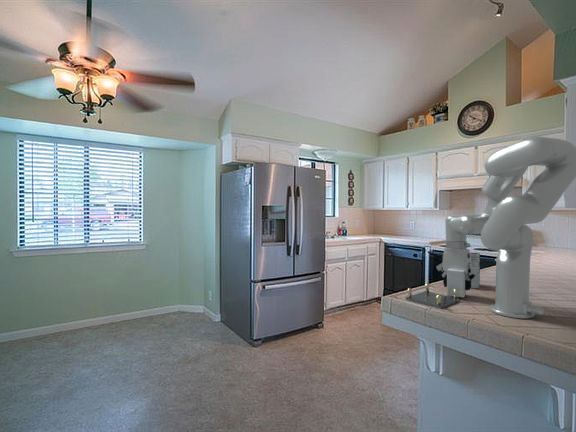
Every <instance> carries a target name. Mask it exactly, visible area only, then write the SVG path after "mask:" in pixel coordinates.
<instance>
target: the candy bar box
mask: <svg viewBox="0 0 576 432" xmlns="http://www.w3.org/2000/svg"><path fill="white" fill-rule="evenodd" d="M469 252H470V256H471V263H472V266H473V267H475V268H476V269H477V270H479V273H478V274H477V275H476V276H475V277H474V278H473V279H472V280H471V288H470V290H471V289H472V290H473V289H480V282H481V281H480V280H481V279H480V276H481V274H480V273H481V272H480V271H481V264H480V263H481V254H480V252H479V251H478V252H477V251H473V250H470V249H469ZM472 273H473V271H472V272H471V273H470V275H471V274H472Z"/></svg>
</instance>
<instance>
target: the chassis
mask: <svg viewBox="0 0 576 432" xmlns="http://www.w3.org/2000/svg"><path fill="white" fill-rule="evenodd" d="M412 289H413V288H411V287H408V288H407V296H406V297H405V300H406V301H409V302H413V303H416V302H417V304H421V305H424V306H429V307H433V308H437V309H440V310H442V309H445V308H447V307H449V306H452V305H455V304H457V303H459V302H461V299H460V297H458V289H454V296H447V295H445V294H439V293H435V292H431V291H430V283H427V282H425V291H422V292H417V293H415V294H412V292H413V291H412Z"/></svg>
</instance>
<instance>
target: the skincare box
mask: <svg viewBox="0 0 576 432" xmlns="http://www.w3.org/2000/svg"><path fill="white" fill-rule="evenodd" d="M465 280H466V278H465V272H464V271H461V270H455V269H448V270H447V287H446V296H450V297H454V289H458V298H465V296H466V293H467V290H465Z"/></svg>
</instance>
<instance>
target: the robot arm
mask: <svg viewBox="0 0 576 432" xmlns="http://www.w3.org/2000/svg"><path fill="white" fill-rule="evenodd" d="M531 166H541V167H545V168H544V169H543V170H542V172H541V173H539V174H538V175H537V176H536V177H535V178H534V179H533V181H531V184H530V185H529V186H528V188H527V189H526V191H525V192H524V193H521V194H511V192H512V191H513V190H514V188H515V187H516V185H518V183H519V181H520V180H521V179H522V177H523V176H524V175H525V173H526V171H528V168H529V167H531ZM484 170H485V172H486V173H487V174H488V175H489V177H488V178H487V180H486V181H485V183H483V186H482V187H481V192H482V194H483V195H484V196H485V197H487V204H486V206H485V208H484V209H483V210H482V212H481V213H480V214H465V215H448V216H446V218H445V223H444V224H445V248H444V250H443V254H442V262H441V263H439V264H438V265H436V269H437V271H438V273H439V274H440V275H441V277H442V278H443V279H442V283H443V284H442V285H443V286H444V288H447V270H448V269H455V270H461V271H464V272H465V278H466V280H465V290H466V291H470V290H471V289H470V288H471V280H472V279H473V278H474V277H475V276H476V275H477V274H478V273H479V270H477V269H476V268H475V267H473V266H472V263H471V256H470V252H469V250H470V249H469V248H468V247H471V243H469V242H468V241H467V235H477V234H480V241H481V243H482V245H483V246H484V247H485V248H486V249H488V250H490V251H498V253H497V256H496V261H495V263H496V264H495V295H494V296H495V299H494V301H495V303H493V304H490V306H489V310H490V311H491V312H492V313H495V314H497V315H500V316H504V317H508V318H512V319H513V318H514V319H532V318H534V317H535V315H536V314H537V315H542V316H545V314H546V309H544V308H543V307H539V306H535V305H534V304H533V302H532V301H530V278H531V277H530V276H531V274H530V273H531V271H530V270H531V256H532V250H533V245H534V240H535V238H534V237H535V235H534V233H533V230H532V229H531V227H530V226H528V224H529V225H530V224H531V225H532V224H538V223H540V222H543V221H544V220H545V219H546V217H548V215H549V214H550V212H552V210H553V208H554V207H555V206H556V204H557V203H558V202H559V201H560V199H561V197H562V196H563V195H564V193H565V192H566V191H567V189H568V188H569V187H570V186H571V184H572V183H574V180H575V179H576V145H574V144H573V143H571V142H570V141H567V140H564V139H561V138H555V137H554V138H553V137H546V136H532V137H528V138H525V139H523V140H521V141H517V142H515V143H513V144H510V145H508V146H506V147H503V148H500V149H499V150H496V151H494V152H493V153H491V154H490V155H489V156H488V157H487V159H486V160H485V161H484ZM472 271H473V273H472V274H471V275H470V273H471V272H472Z"/></svg>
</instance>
